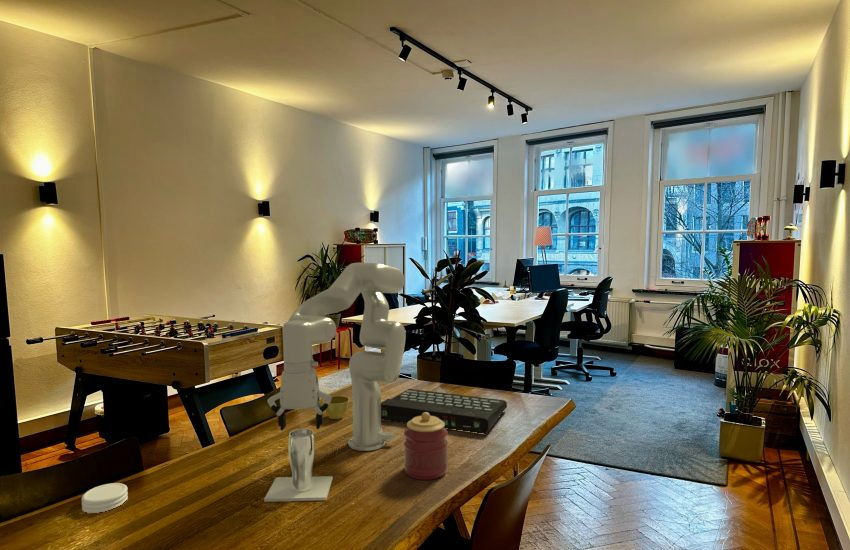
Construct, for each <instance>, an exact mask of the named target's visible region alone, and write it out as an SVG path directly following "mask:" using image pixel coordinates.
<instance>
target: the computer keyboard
mask: <svg viewBox="0 0 850 550" xmlns="http://www.w3.org/2000/svg"><path fill="white" fill-rule="evenodd" d="M507 407H508V403H507V401H506V400H505V399H504V400H503V399H499V398H498V399H497V398H490V397H489V398H488V397H481V396H473V395H471V396H470V395H466V394H465V395H464V394H463V395H462V394H454V393H448V392H447V393H446V392H439V391H438V392H437V391H431V390H421V389H414V388H408V389H406V390H404V391H402V392H401V393H399V394H397V395H395V396H394V397H392V398H387V399H385V400H383V401H381V419H384V420H383V421H386V420H390V421H389V422H393V421H396V422H395V423H400V422H403V423H402V424H406V423H408V422H409V421H410V420H412V419H413V418H414V417H417V416H422V414H423V413H424V412H428V413H429V414H430V416H435V417H437V418H439V419H440V420H442V421H443V422H444V423H445V426H444V428H448V429H456V430H463V431H470V432H477V433H484V434H486V435H487V434H488V433H489V432H490V431H491V429H492V428H493V426H494V425H495V424H496V423H497V422H498V420H499V419H500V418H499V416H500V415H501V414H502V413H503V414H504V412H505V411H504V410H506V409H507ZM503 411H504V412H503ZM503 414H502V415H503ZM502 415H501V416H502ZM501 416H500V417H501ZM498 418H499V419H498ZM497 419H498V420H497ZM495 422H496V423H495ZM494 423H495V424H494ZM491 427H492V428H491Z"/></svg>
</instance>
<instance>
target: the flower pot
mask: <svg viewBox="0 0 850 550" xmlns="http://www.w3.org/2000/svg"><path fill="white" fill-rule="evenodd" d="M331 396H332V399H331V402H330V404H329V406H328V408H327V409H326V410H325V413H326V414H327V416H328V418H329V419H330V418H331V419H330V420H333V419H338V420H341V419H340V418H342V419H343V418H344V416H345V415H346V412H347V410H348V408H349V403H350V398H349V397H347V396H344V395H334V396H333V395H331ZM322 402H323V403H322V404H324V403H325V402H326V400H325V399H323V400H322Z"/></svg>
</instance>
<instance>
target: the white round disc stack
mask: <svg viewBox="0 0 850 550" xmlns="http://www.w3.org/2000/svg"><path fill="white" fill-rule="evenodd" d="M128 495H129V492H128V486H127V485H126V484H124V483H120V482H113V483H112V482H111V483H106V484H105V483H104V484H101V485H98V486H95V487H93V488H91V489H88V490H87V491H86V492H84V494H83V495H82V497H81V510H82V512H84V513H85V512H87V513H86V514H90V513H97V514H100V513H99V512H103V513H106V512H105V511H107V512H109V511H108V510H111V509H113V508H116V507H118V506H120V505H122V504H123V503H124V502H125V501H126V500H127V501H128V500H129V496H128ZM127 501H126V502H127ZM126 502H125V503H126ZM125 503H124V504H125ZM124 504H123V505H124ZM123 505H122V506H123ZM120 507H121V506H120ZM118 508H119V507H118ZM116 509H117V508H116ZM113 510H114V509H113ZM111 511H112V510H111Z"/></svg>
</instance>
